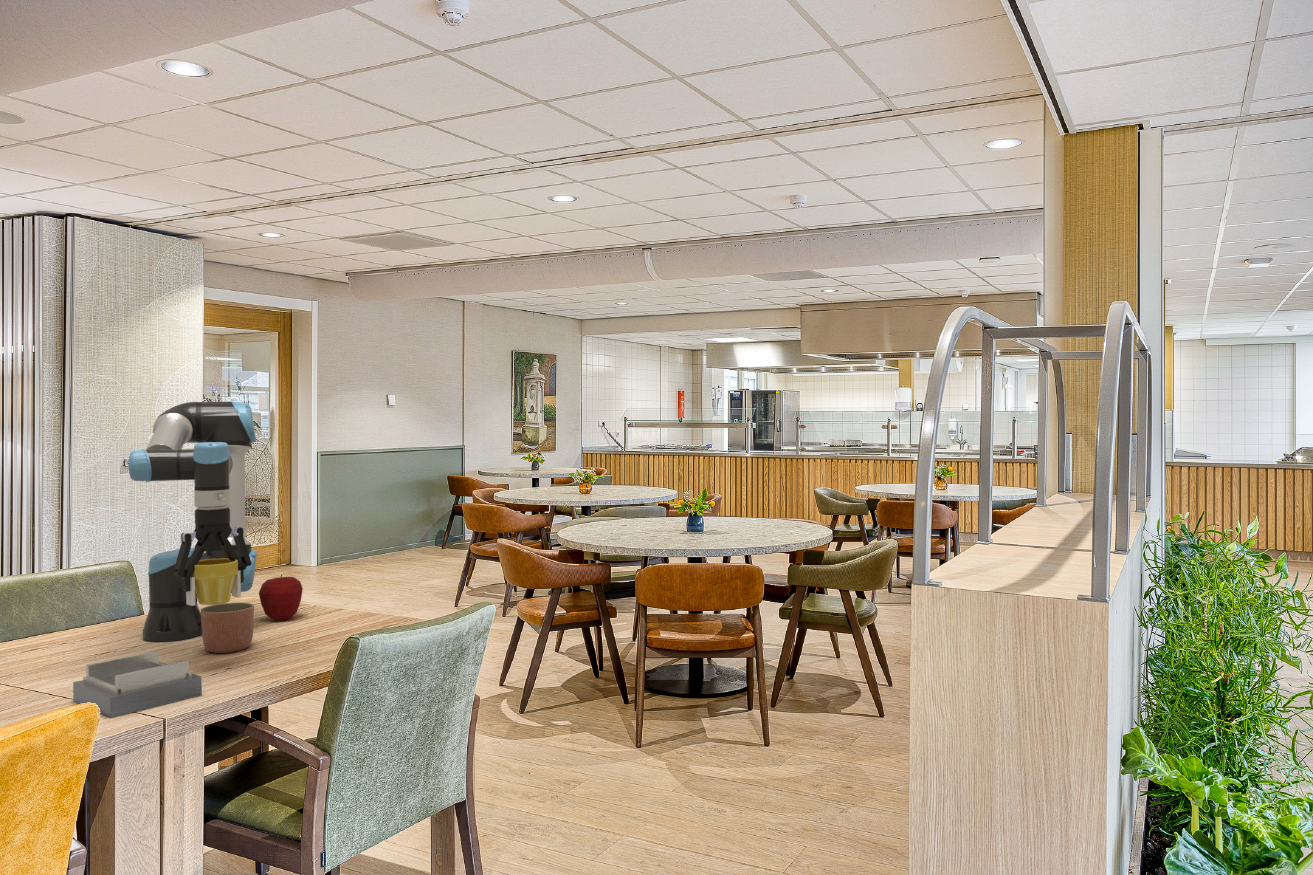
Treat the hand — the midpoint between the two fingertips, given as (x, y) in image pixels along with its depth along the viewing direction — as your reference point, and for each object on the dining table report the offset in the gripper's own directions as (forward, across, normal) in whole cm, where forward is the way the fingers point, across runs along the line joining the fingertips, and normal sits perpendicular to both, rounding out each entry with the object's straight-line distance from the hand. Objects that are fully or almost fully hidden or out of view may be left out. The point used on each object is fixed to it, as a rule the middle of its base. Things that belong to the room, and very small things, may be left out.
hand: (214, 600), depth 212 cm
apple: (+17, +38, +36) cm, 55 cm away
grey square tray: (+16, -21, -10) cm, 28 cm away
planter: (+17, +11, +14) cm, 25 cm away
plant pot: (+1, 0, 0) cm, 1 cm away
